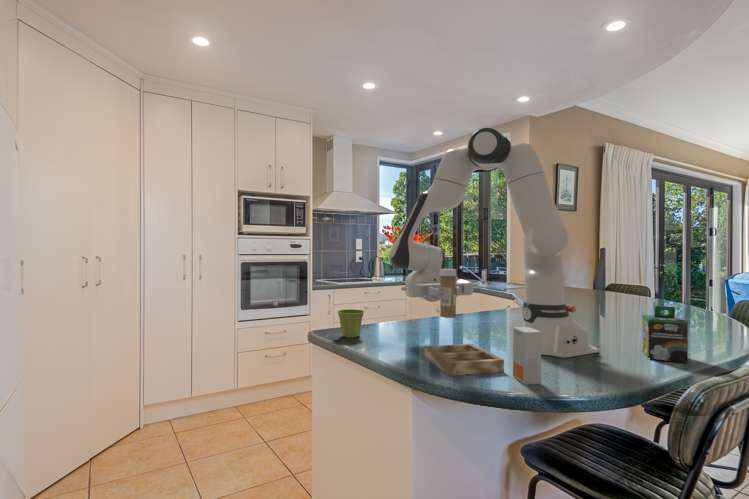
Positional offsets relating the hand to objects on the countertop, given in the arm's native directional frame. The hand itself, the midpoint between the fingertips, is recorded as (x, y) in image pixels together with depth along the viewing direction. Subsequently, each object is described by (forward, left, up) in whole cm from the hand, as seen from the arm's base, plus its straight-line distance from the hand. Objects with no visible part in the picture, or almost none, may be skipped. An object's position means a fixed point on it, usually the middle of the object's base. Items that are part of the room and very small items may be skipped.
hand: (449, 292), depth 109 cm
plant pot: (+22, -32, -19) cm, 43 cm away
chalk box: (-60, +13, -19) cm, 64 cm away
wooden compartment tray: (-1, +6, -19) cm, 19 cm away
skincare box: (-10, +21, -19) cm, 30 cm away
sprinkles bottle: (0, -1, -7) cm, 7 cm away
